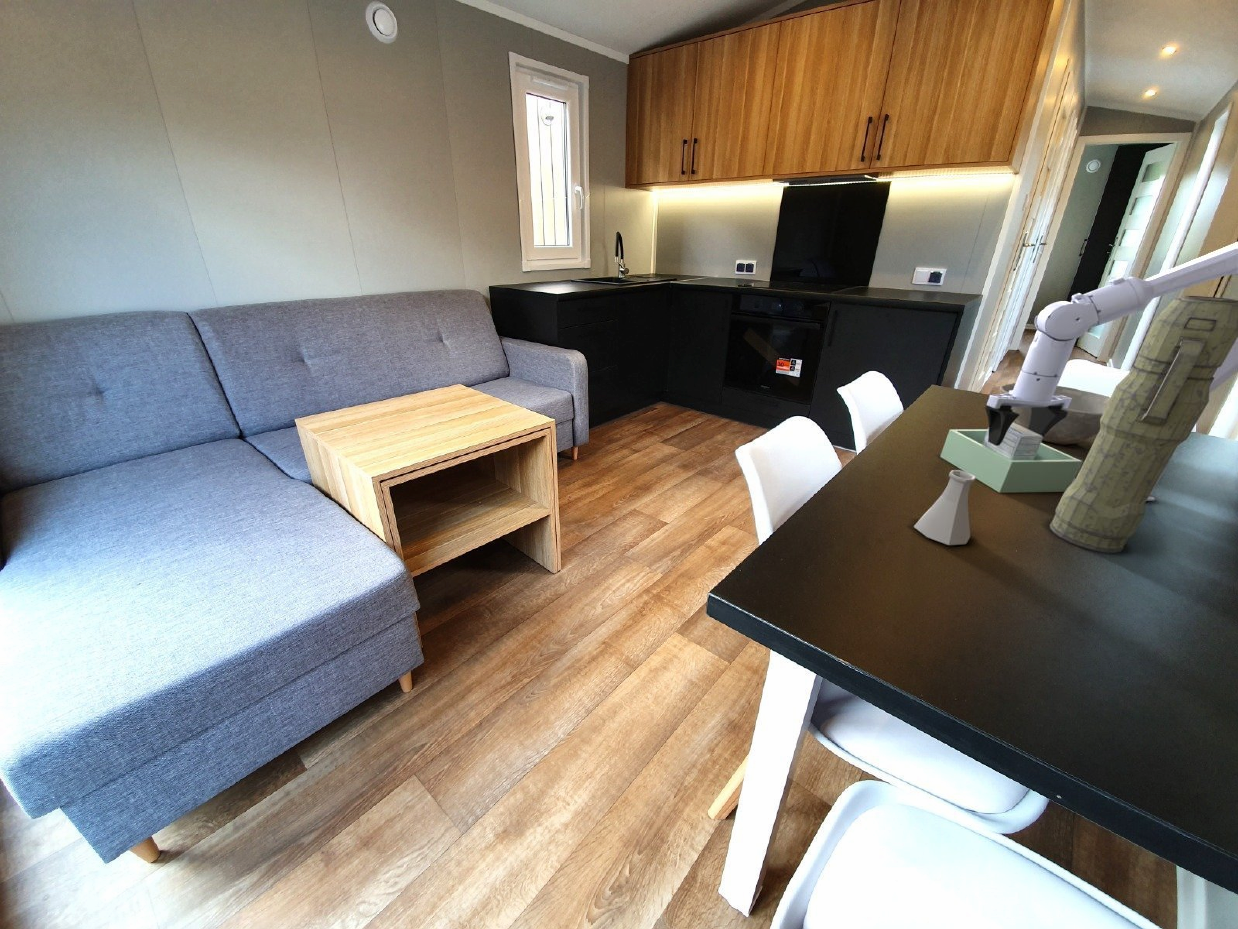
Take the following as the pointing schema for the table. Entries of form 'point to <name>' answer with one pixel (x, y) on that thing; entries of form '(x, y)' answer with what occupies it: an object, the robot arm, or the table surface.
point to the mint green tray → (1009, 464)
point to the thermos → (1147, 422)
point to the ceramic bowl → (1068, 415)
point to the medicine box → (1017, 443)
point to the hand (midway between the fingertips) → (1012, 443)
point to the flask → (949, 512)
